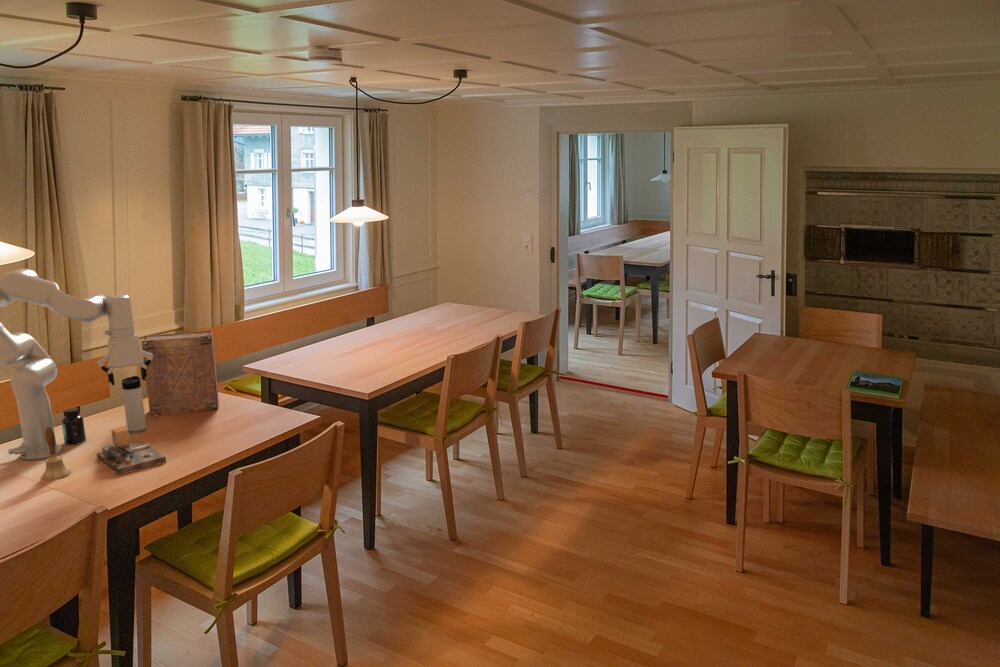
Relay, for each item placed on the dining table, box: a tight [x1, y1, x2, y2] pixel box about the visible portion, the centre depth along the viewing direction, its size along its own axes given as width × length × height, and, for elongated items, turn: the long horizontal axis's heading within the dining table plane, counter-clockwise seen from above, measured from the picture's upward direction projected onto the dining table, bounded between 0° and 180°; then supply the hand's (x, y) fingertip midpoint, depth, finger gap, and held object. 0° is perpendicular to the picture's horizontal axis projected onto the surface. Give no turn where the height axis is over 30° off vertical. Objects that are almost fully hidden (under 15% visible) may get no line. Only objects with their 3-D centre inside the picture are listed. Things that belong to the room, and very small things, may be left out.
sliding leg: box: [111, 426, 134, 459], centre depth 269 cm, size 4×12×8 cm, turn 43°
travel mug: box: [121, 375, 147, 434], centre depth 298 cm, size 6×7×20 cm
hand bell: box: [41, 427, 72, 481], centre depth 259 cm, size 8×8×16 cm
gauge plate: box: [96, 441, 167, 476], centre depth 271 cm, size 15×20×5 cm
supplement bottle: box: [61, 407, 87, 445], centre depth 288 cm, size 7×7×12 cm
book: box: [141, 330, 220, 417], centre depth 321 cm, size 25×9×30 cm, turn 107°
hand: (128, 381), depth 276 cm, fingers open, 9 cm apart
